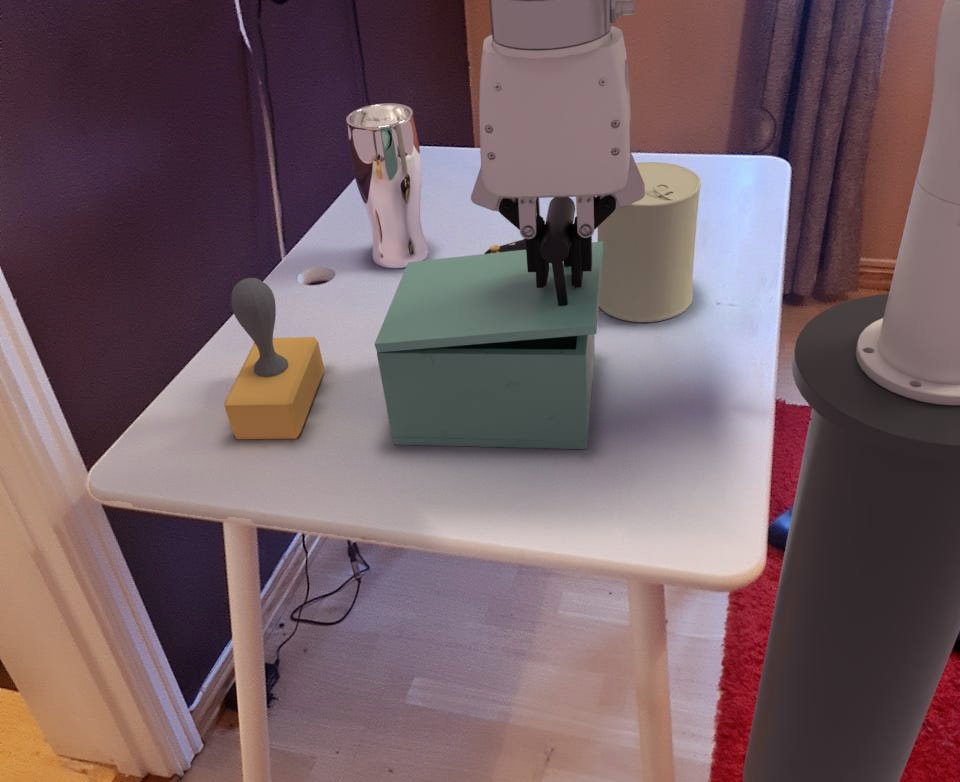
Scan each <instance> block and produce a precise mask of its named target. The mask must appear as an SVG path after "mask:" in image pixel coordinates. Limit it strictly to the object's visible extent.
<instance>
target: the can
mask: <svg viewBox="0 0 960 782" xmlns="http://www.w3.org/2000/svg"><path fill="white" fill-rule="evenodd" d="M635 163H636V165H637V168H638V170H639V172H640V175H641V177H642V179H643V182H644V184H645V195H644V197H643V198H642V199H641V200H639V201H637V202H634V203H632V204H629V205H627V206H625V207H622V208H618V209H616V210H614V212H613V213H612V214H611V215H610V216H609V217H608V218H606V219H605V220H604V221H603V222H602V223H601V224H600V225H599V226H598V227H597V242H603V248H604V252H603V263H602V275H601V286H600V297H599V309H600V310H602V311H603V312H604V313H606V314H607V315H608V316H611V317H613V318H615V319H618V320H622V321H626V322H632V323H654V322H661V321H666V320H670V319H672V318H675V317H678V316H679V315H681V314H683V313H684V312H686V310H688V309H689V308H690V306H691V305H692V303H693V300H694V292H693V278H694V276H693V275H694V262H695V249H696V238H697V237H696V234H697V224H698V223H697V222H698V212H699V200H700V193H701V187H702V182H701V179H700V176H699V175H698V174H697V173H696V172H695V171H693V170H691V169H690V168H687V167H685V166H682V165H679V164H674V163H669V162H659V161H646V162H645V161H643V162H642V161H641V162H635Z"/></svg>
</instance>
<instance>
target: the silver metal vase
mask: <svg viewBox="0 0 960 782" xmlns="http://www.w3.org/2000/svg"><path fill="white" fill-rule="evenodd" d="M345 118H346V120H345V121H346V125H347V127H346V128H347V137H348V148H349V156H350V162H351V167H352V171H353V176H354V179H355V182H356V186H357V189H358V192H359V195H360V198H361V201H362V203H363V206H364V209H365V211H366V214H367V216H368V221H369V223H370V224H369V225H370V227H371V233H372V252H371V253H372V255H371V256H372V260H373V261H374V263H375V264H376V265H377V266H380V267H381V268H387V269H403V268H405V269H406V266H407V264H408V262H415V261H424V260H426V258H427V257H428V255H429V246H428V243H427V240H426V237H425V234H424V230H423V227H422V226H423V225H422V221H421V202H422V201H421V198H422V157H421V156H422V155H421V149H420V143H419V137H418V132H417V127H416V122H415V118H414V110H413V109H412V108H411V107H410V106H408V105H405V104H401V103H393V102H392V103H390V102H386V103H385V102H384V103H377V104H371V105H366V106H363V107H360V108H357V109H355V110H353V111H351V112H349V114H348V115H347V116H346V117H345Z"/></svg>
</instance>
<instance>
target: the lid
mask: <svg viewBox="0 0 960 782" xmlns="http://www.w3.org/2000/svg"><path fill="white" fill-rule="evenodd" d="M575 213H576V203H575V201H574V200H573V199H572V197H552V199H551V200H550V201H549V204H548V209H547V214H546V219H545V228H544V233H543V238H542V244H541V249H540V252H541V255H542V257H543V259H544V260H546V261H547V262H549V274H548V280H547V285H546V286H544V288H537V286H536V272H528V269H527V254H526V250H518V251H508V252H499V253H490V254H484V253H483V254H471V255H463V256H453V257H444V258H435V259H424V260H423V261H415V262H408V264H407V266H406V267H405V269H404V271H403V274H402V276H401V278H400V280H399V282H398V286H397V288H396V290H395V293H394V295H393V298H392V300H391V303H390V305H389V308H388V310H387V312H386V315H385V317H384V320H383V322H382V325H381V327H380V330H379V331H378V334H377V337H376V339H375V341H374V347H375V350H376V353H377V352H390V351H401V350H413V349H425V348H437V347H449V346H461V345H473V344H485V343H497V342H509V341H520V340H532V339H544V338H556V337H568V336H580V335H592V334H595V335H597V331H598V320H599V319H598V318H599V309H600V307H599V297H600V286H601V275H602V263H603V252H604V248H603V242H598V241H594V242H593V241H592V270H591V271H584V272H583V278H582V287H581V288H575V287H574V286H572V278H571V245H570V241H571V234H572V227H573V224H574V221H575Z"/></svg>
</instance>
